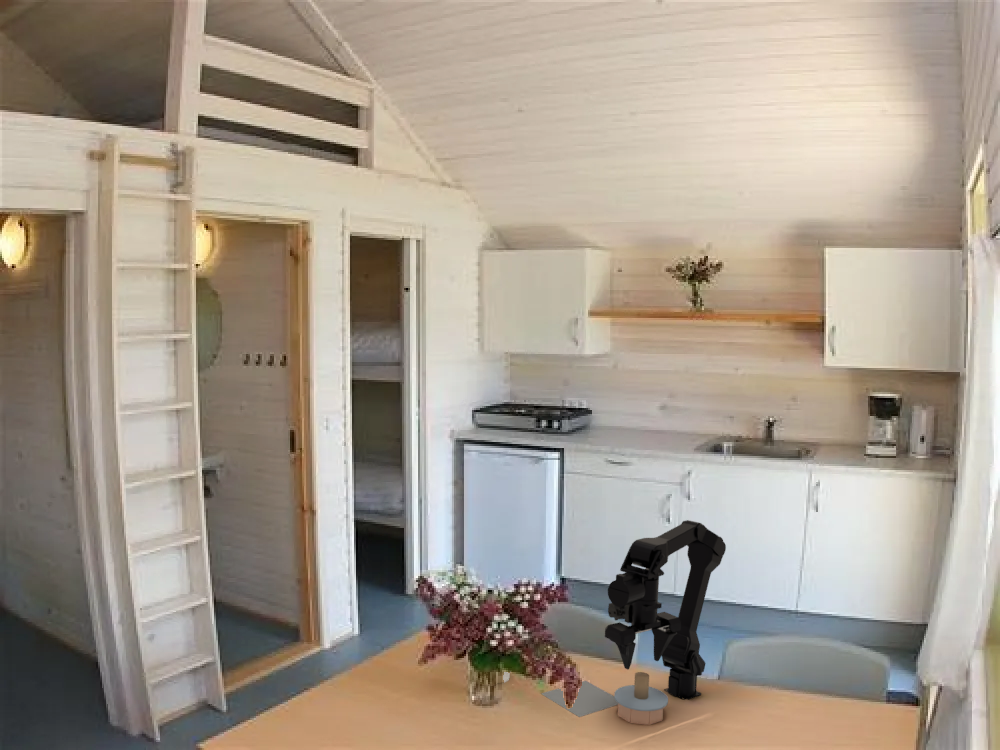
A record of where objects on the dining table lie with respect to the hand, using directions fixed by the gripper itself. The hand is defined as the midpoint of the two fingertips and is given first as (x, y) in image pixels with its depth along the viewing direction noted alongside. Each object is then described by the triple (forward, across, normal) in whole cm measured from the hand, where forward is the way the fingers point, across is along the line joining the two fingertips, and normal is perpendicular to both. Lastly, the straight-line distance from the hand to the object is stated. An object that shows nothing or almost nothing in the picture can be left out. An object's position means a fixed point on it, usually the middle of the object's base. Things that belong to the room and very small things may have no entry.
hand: (641, 664), depth 199 cm
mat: (+12, +6, -13) cm, 19 cm away
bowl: (+12, 0, 0) cm, 12 cm away
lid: (+8, 0, 0) cm, 8 cm away
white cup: (+12, +17, -33) cm, 39 cm away
